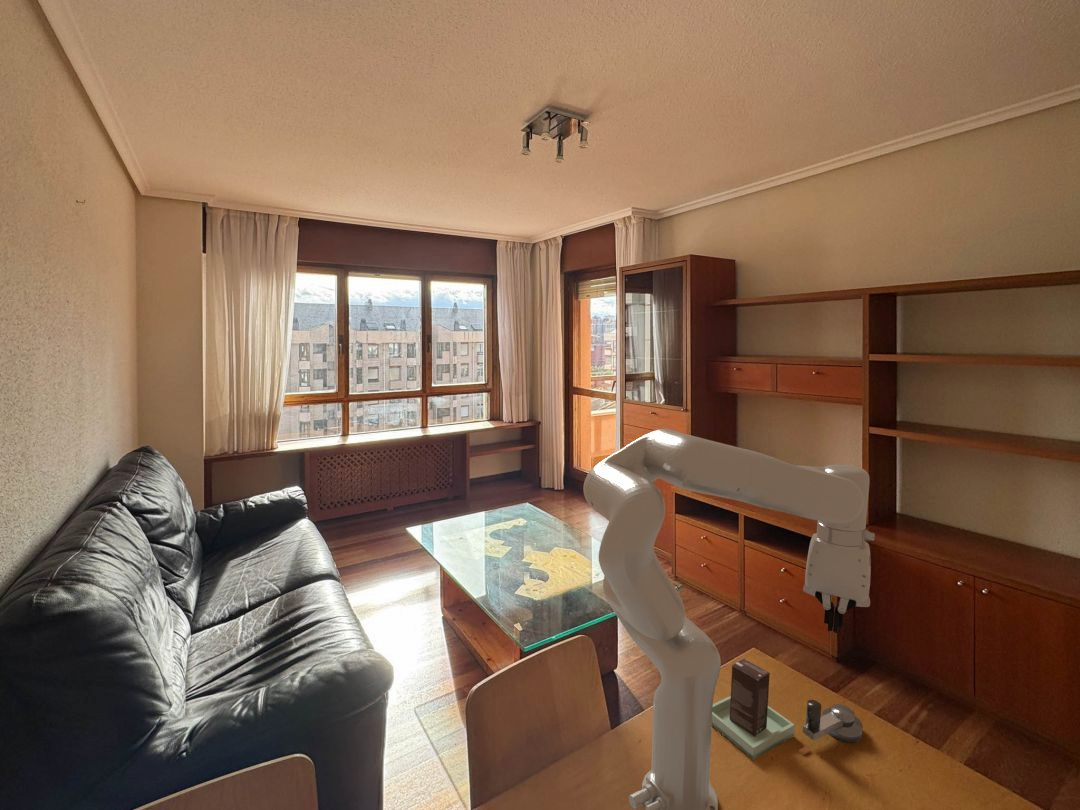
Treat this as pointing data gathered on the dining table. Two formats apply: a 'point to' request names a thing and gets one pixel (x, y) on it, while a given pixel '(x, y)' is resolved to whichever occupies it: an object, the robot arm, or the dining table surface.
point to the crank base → (842, 733)
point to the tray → (745, 741)
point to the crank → (826, 719)
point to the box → (749, 696)
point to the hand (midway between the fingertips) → (833, 628)
